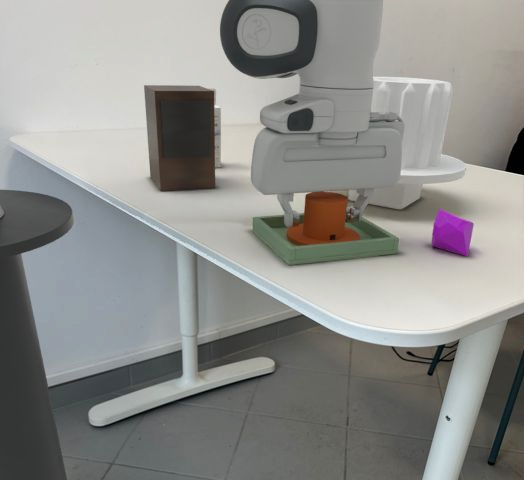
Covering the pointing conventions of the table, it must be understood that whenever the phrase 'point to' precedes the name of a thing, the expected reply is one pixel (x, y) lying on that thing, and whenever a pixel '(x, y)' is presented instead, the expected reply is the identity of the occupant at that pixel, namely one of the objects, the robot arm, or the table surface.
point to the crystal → (452, 233)
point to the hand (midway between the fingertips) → (323, 223)
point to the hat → (323, 221)
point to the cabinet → (180, 136)
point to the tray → (369, 244)
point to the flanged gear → (416, 137)
